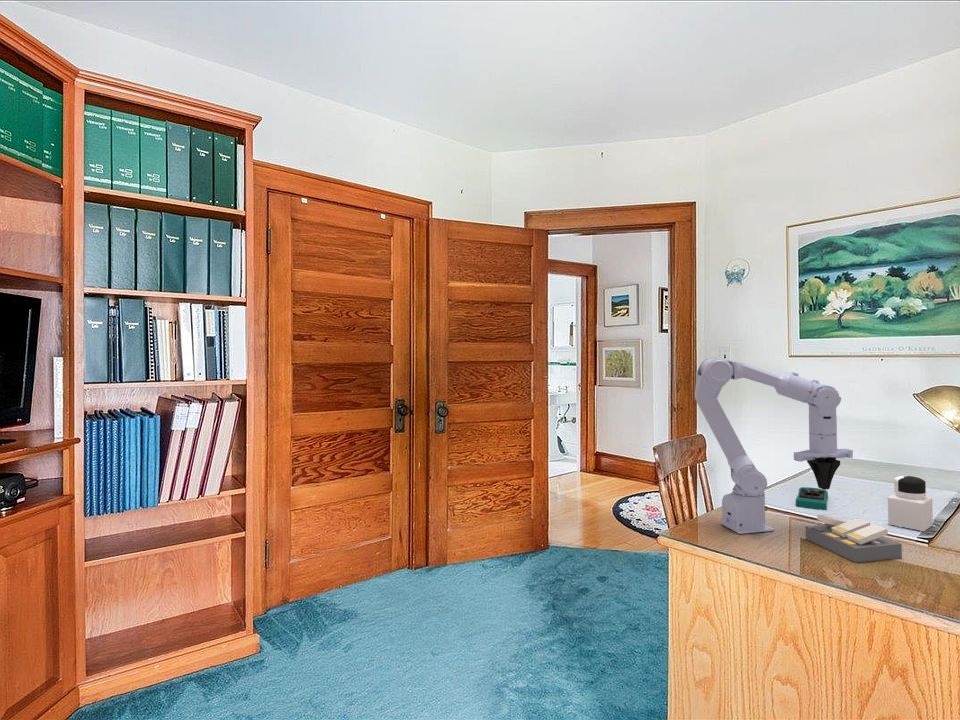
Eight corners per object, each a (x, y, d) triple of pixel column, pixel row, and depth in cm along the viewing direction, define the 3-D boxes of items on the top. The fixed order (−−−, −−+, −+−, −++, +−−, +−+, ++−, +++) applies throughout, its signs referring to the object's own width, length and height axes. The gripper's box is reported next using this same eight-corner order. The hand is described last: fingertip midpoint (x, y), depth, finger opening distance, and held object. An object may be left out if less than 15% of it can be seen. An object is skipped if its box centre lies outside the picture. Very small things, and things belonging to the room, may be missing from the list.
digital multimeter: (828, 498, 156) (827, 488, 156) (826, 512, 144) (826, 501, 144) (799, 495, 160) (799, 485, 160) (795, 508, 148) (795, 498, 148)
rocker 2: (844, 537, 116) (842, 532, 116) (832, 532, 119) (831, 527, 119) (871, 527, 117) (869, 522, 117) (858, 522, 120) (857, 517, 120)
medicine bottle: (933, 525, 130) (932, 477, 129) (923, 532, 126) (923, 482, 125) (897, 518, 135) (897, 472, 135) (887, 524, 131) (886, 477, 131)
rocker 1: (827, 523, 120) (828, 518, 120) (816, 519, 123) (817, 514, 123) (854, 528, 121) (855, 523, 121) (842, 524, 124) (843, 519, 124)
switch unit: (856, 562, 110) (855, 545, 110) (805, 538, 124) (805, 523, 124) (901, 557, 112) (901, 540, 112) (847, 534, 126) (846, 519, 126)
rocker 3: (860, 544, 112) (859, 539, 112) (847, 539, 115) (846, 533, 115) (888, 534, 113) (886, 528, 113) (875, 529, 116) (873, 523, 116)
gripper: (808, 437, 124) (809, 495, 124) (863, 434, 126) (864, 490, 126) (787, 433, 131) (788, 487, 131) (839, 429, 133) (840, 483, 133)
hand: (823, 488), depth 129 cm, fingers closed
